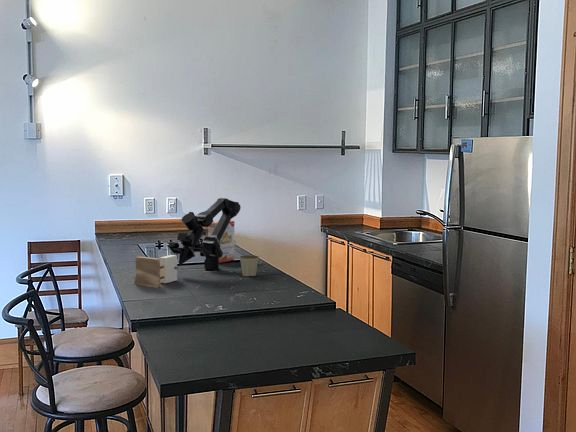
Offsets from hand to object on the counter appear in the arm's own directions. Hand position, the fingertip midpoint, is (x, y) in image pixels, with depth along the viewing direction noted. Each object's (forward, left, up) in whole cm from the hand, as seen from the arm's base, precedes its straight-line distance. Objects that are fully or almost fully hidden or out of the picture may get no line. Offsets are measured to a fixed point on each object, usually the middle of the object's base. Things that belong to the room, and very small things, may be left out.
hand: (179, 264), depth 288 cm
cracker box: (-16, -43, -7) cm, 46 cm away
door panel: (+4, +7, -7) cm, 10 cm away
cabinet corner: (+9, +8, -7) cm, 14 cm away
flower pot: (-31, -8, -7) cm, 33 cm away
